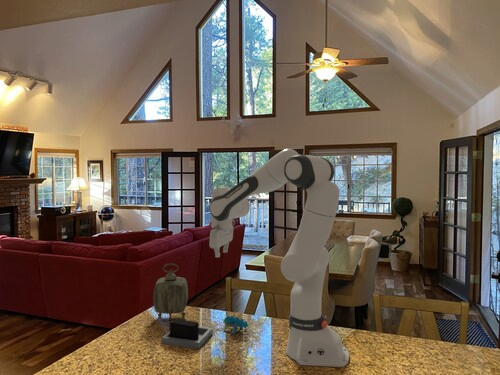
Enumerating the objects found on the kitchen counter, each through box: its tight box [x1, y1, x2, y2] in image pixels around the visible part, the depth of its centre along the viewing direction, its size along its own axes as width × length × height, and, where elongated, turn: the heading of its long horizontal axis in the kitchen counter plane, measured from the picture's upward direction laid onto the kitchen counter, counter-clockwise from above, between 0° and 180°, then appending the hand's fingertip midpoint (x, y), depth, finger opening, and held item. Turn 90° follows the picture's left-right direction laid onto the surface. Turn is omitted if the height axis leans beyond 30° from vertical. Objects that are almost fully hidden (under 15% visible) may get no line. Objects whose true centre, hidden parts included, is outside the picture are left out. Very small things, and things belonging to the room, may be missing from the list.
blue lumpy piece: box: [222, 315, 249, 335], centre depth 155 cm, size 11×6×10 cm
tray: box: [161, 326, 214, 350], centre depth 148 cm, size 15×13×2 cm
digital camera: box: [169, 318, 200, 341], centre depth 147 cm, size 10×5×7 cm, turn 69°
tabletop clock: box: [152, 262, 189, 322], centre depth 168 cm, size 14×9×25 cm, turn 94°
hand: (221, 254), depth 166 cm, fingers open, 8 cm apart
